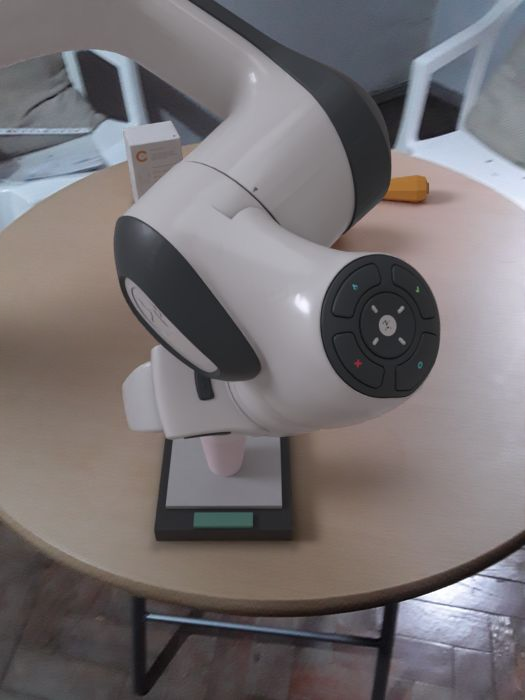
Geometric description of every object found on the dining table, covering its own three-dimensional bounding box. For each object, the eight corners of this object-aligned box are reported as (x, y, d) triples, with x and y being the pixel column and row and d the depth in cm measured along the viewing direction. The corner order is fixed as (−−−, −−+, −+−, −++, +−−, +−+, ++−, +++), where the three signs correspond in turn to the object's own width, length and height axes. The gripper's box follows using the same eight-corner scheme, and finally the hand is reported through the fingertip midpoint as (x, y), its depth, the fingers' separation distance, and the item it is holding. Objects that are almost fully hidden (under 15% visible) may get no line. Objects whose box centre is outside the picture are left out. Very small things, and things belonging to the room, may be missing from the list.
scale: (155, 540, 70) (153, 527, 68) (168, 433, 80) (166, 419, 78) (291, 540, 70) (292, 527, 68) (287, 433, 80) (288, 419, 78)
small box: (178, 190, 118) (171, 119, 109) (188, 210, 114) (181, 137, 104) (132, 198, 116) (121, 127, 107) (140, 218, 112) (129, 145, 102)
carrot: (426, 199, 117) (427, 172, 116) (429, 204, 113) (430, 176, 112) (311, 202, 120) (310, 176, 119) (309, 206, 116) (308, 180, 114)
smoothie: (190, 483, 72) (179, 395, 62) (202, 435, 76) (193, 346, 67) (250, 490, 71) (248, 402, 61) (258, 442, 76) (258, 353, 66)
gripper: (403, 310, 51) (331, 343, 64) (129, 348, 44) (111, 377, 57) (421, 392, 50) (345, 409, 63) (145, 444, 43) (124, 451, 57)
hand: (232, 394), depth 60 cm, fingers open, 8 cm apart
